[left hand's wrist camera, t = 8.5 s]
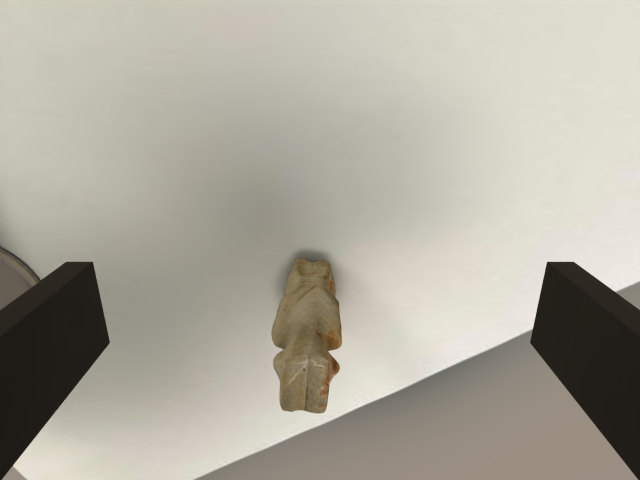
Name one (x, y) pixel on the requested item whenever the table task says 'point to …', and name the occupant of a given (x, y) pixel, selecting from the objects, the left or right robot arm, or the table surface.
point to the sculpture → (307, 337)
